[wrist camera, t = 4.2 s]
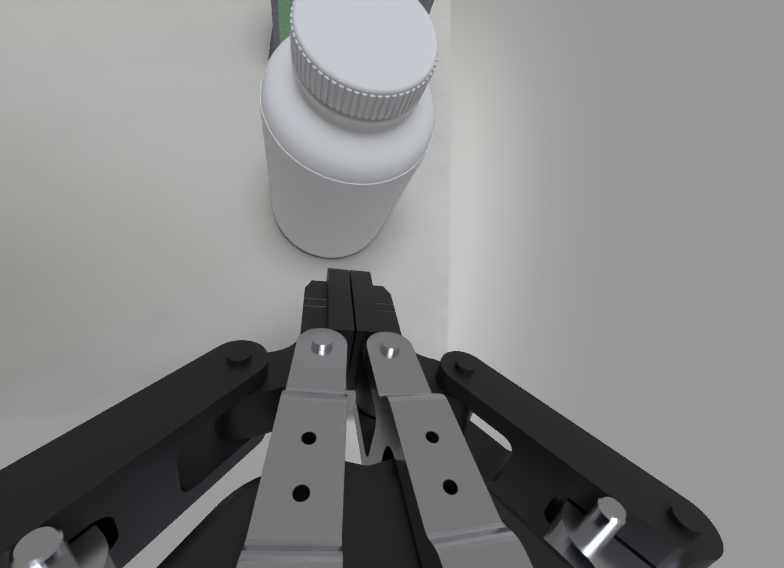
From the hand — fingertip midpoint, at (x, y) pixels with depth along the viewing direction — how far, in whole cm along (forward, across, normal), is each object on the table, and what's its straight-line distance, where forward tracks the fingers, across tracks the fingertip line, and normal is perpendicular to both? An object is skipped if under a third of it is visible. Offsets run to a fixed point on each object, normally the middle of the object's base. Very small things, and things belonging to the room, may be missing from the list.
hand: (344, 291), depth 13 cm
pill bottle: (+15, 0, +2) cm, 15 cm away
